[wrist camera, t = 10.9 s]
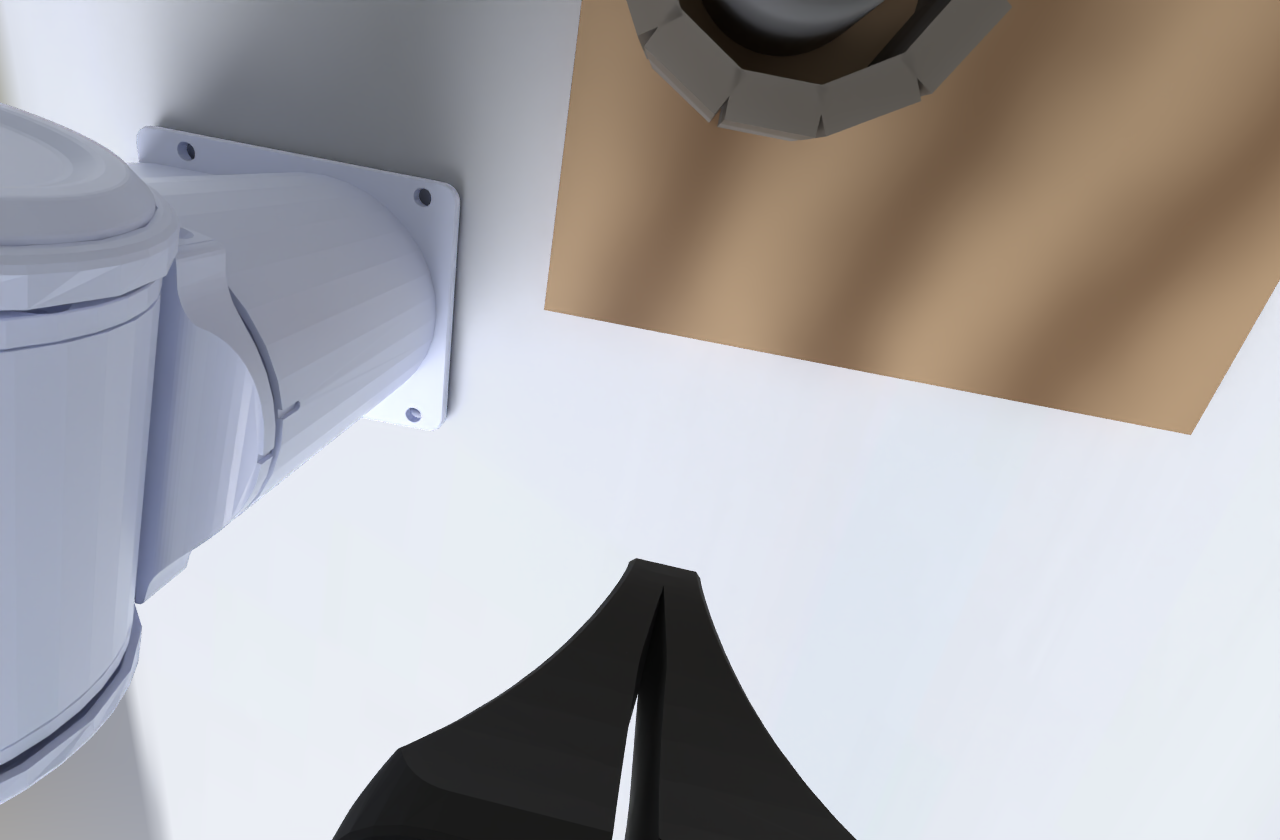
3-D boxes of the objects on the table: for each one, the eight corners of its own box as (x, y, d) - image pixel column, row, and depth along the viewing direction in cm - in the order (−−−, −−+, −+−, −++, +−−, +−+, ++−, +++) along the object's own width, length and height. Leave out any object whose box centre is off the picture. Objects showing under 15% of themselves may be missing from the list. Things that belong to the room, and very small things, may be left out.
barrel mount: (550, 302, 20) (515, 340, 16) (640, -412, 14) (620, -655, 10) (1167, 422, 20) (1292, 490, 16) (1529, -233, 14) (1884, -397, 10)
